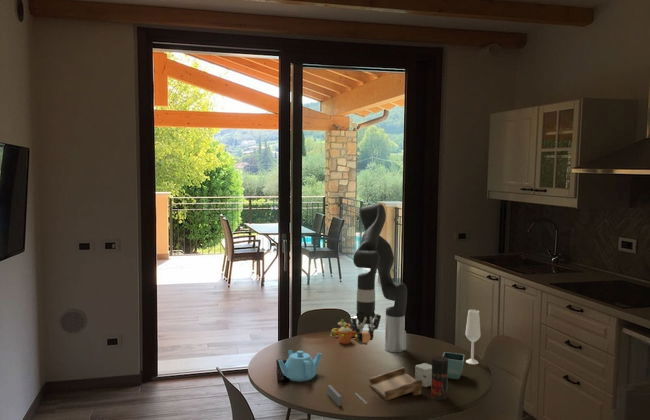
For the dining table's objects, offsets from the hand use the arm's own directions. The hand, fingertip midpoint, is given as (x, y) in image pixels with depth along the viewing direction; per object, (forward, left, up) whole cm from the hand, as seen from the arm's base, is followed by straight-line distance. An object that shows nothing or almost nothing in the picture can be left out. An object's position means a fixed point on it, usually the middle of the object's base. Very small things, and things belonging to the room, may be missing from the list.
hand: (365, 340), depth 207 cm
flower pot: (-38, +8, -17) cm, 42 cm away
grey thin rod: (+8, +12, -17) cm, 23 cm away
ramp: (-8, +12, -17) cm, 22 cm away
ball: (0, 0, +1) cm, 1 cm away
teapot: (+23, -14, -18) cm, 33 cm away
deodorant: (-21, +23, -17) cm, 35 cm away
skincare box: (-23, +10, -17) cm, 30 cm away
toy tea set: (-16, -56, -18) cm, 61 cm away
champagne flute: (-56, -3, -17) cm, 59 cm away
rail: (+18, +12, -17) cm, 28 cm away
